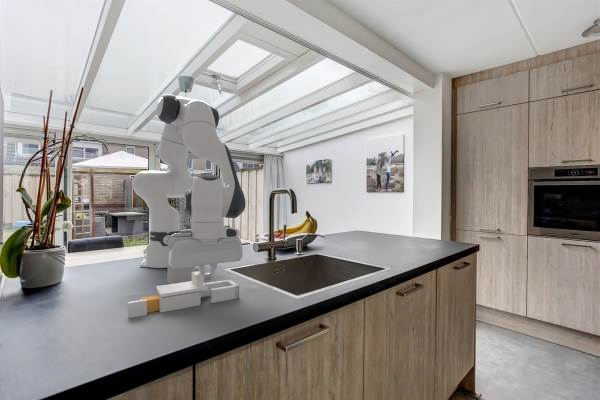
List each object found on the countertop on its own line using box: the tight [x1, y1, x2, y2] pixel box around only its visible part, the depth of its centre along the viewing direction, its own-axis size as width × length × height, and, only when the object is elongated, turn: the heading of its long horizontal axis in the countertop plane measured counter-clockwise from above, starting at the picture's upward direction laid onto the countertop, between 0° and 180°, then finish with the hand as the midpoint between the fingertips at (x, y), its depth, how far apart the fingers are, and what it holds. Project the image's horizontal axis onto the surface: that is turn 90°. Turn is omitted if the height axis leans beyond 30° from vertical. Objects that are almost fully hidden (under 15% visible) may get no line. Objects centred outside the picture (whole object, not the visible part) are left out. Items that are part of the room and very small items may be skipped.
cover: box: [155, 271, 209, 297], centre depth 83 cm, size 8×12×4 cm, turn 123°
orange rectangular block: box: [139, 294, 160, 313], centre depth 79 cm, size 3×9×3 cm, turn 123°
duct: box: [127, 279, 240, 319], centre depth 84 cm, size 7×28×4 cm, turn 123°
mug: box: [166, 249, 200, 285], centre depth 105 cm, size 12×8×11 cm
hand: (207, 279), depth 87 cm, fingers closed
